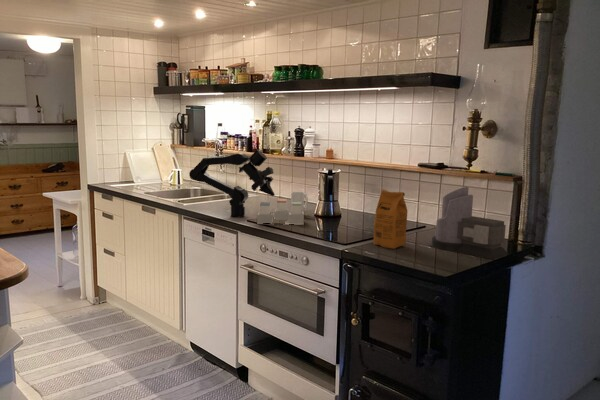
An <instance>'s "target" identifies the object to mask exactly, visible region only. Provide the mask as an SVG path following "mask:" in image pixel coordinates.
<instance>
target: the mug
mask: <svg viewBox="0 0 600 400" xmlns="http://www.w3.org/2000/svg"><path fill="white" fill-rule="evenodd" d="M290 197H291V198H290V201H291V202H290V203H291V204H290V205H291V209H290V212H292V202H302V203H301V212H304V213H305V211H304V210H306V209H307V206H308V204H309V203H308V201H309V199H308V196H307V193H305V192H304V191H291V192H290ZM304 202H305V203H304Z"/></svg>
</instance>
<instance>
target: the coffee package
mask: <svg viewBox="0 0 600 400" xmlns="http://www.w3.org/2000/svg"><path fill="white" fill-rule="evenodd" d="M404 197H405V192H403V191H389V190H386V189H384V188H383V189H381V192H380V195H379V198H378V202H377V206H376V209H375V214H374V215H375V216H374V223H373V245H374V246H380V247H382V248H386V249H397V248H399V247H403V246H405V245H406V244H407V243H406V241H407V224H408V213H409V212H408V207H407V205H406V201H405V198H404Z"/></svg>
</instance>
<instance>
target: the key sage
mask: <svg viewBox="0 0 600 400" xmlns="http://www.w3.org/2000/svg"><path fill="white" fill-rule="evenodd" d="M301 203H302V202H292V214H301Z"/></svg>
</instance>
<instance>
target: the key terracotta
mask: <svg viewBox="0 0 600 400" xmlns="http://www.w3.org/2000/svg"><path fill="white" fill-rule="evenodd" d="M287 206H288V202H287V199H279V198H278V199H277V201H276V209H277V211H287V209H288V208H287Z"/></svg>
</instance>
